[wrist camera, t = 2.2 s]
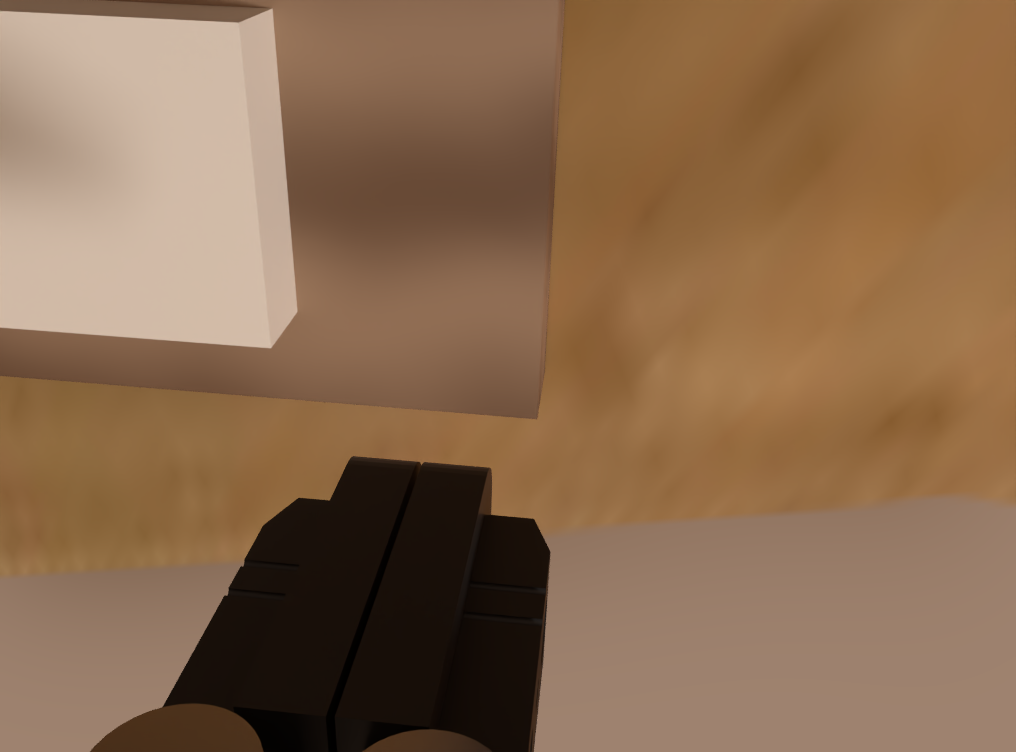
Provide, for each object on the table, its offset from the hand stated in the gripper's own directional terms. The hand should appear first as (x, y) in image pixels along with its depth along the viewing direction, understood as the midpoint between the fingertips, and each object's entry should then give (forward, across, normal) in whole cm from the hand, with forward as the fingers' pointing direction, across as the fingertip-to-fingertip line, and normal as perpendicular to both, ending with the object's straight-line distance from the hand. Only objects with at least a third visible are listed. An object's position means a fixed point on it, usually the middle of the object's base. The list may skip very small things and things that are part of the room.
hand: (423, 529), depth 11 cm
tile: (+12, +10, 0) cm, 16 cm away
